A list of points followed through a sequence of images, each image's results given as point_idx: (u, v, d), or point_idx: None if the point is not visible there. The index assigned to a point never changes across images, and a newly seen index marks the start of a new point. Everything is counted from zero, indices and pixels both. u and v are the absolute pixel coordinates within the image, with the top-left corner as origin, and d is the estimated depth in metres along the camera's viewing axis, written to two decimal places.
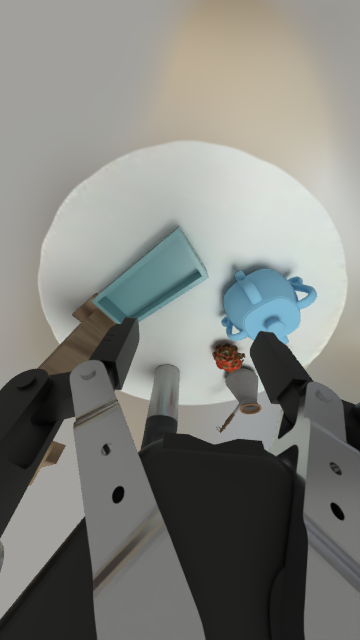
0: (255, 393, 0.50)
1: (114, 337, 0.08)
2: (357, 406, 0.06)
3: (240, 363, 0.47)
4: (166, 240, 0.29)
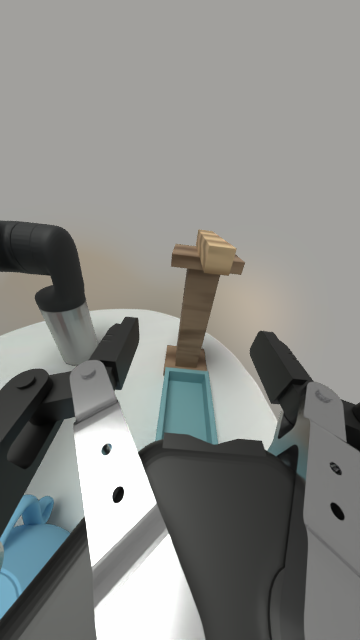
0: None
1: (114, 337, 0.08)
2: (357, 406, 0.06)
3: None
4: None
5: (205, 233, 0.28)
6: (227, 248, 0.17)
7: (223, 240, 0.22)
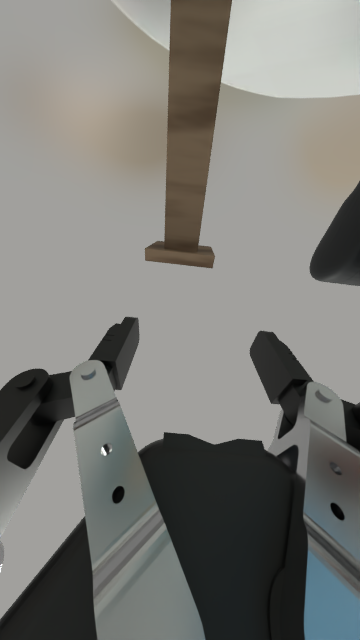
0: None
1: (114, 337, 0.08)
2: (357, 406, 0.06)
3: None
4: None
5: None
6: None
7: None
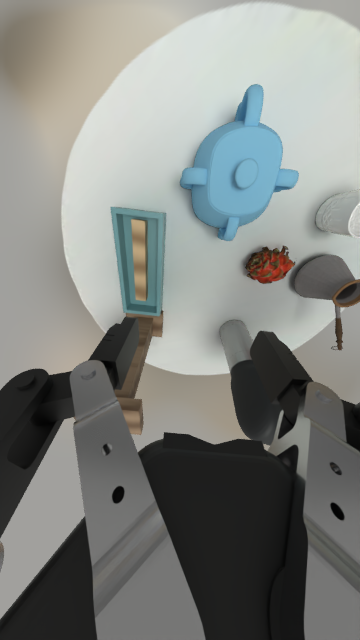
0: (344, 273, 0.34)
1: (114, 337, 0.08)
2: (357, 406, 0.06)
3: (285, 258, 0.36)
4: (114, 223, 0.34)
5: (142, 278, 0.42)
6: (135, 220, 0.34)
7: (133, 249, 0.38)
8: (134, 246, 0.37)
